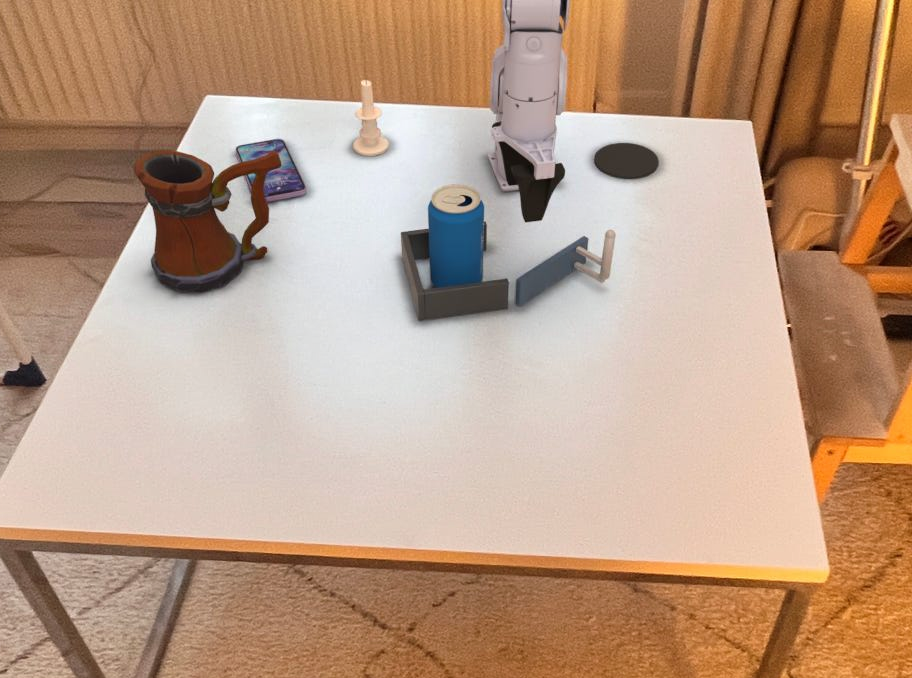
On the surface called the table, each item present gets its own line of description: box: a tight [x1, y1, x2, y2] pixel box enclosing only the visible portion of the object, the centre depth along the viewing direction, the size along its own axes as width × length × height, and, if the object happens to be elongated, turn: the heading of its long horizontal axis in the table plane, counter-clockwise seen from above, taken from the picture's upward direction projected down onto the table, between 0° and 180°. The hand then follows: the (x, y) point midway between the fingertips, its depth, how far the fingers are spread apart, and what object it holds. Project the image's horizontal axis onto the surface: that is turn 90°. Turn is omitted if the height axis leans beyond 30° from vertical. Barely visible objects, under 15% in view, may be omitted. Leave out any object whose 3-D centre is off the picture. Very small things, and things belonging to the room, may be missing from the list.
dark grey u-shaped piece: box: [400, 220, 510, 322], centre depth 113 cm, size 11×13×4 cm
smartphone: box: [235, 138, 307, 203], centre depth 131 cm, size 7×1×15 cm
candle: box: [352, 79, 390, 157], centre depth 132 cm, size 5×5×10 cm
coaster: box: [593, 142, 659, 180], centre depth 132 cm, size 9×9×1 cm
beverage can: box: [427, 183, 485, 288], centre depth 110 cm, size 6×6×12 cm
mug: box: [132, 150, 281, 293], centre depth 112 cm, size 18×12×15 cm, turn 102°
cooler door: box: [514, 229, 617, 307], centre depth 109 cm, size 6×12×8 cm, turn 133°
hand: (524, 201), depth 107 cm, fingers open, 7 cm apart
